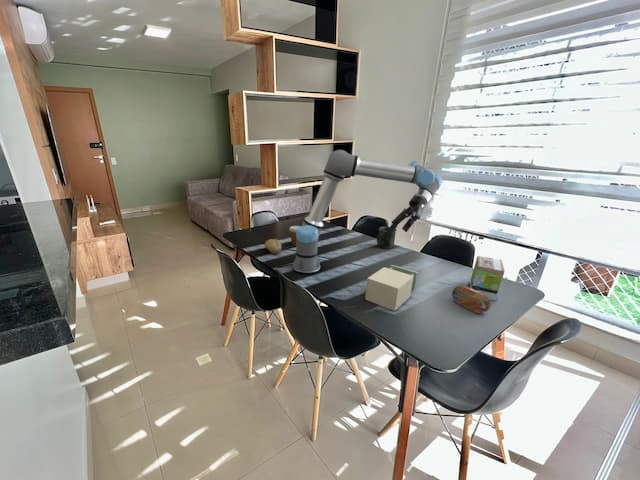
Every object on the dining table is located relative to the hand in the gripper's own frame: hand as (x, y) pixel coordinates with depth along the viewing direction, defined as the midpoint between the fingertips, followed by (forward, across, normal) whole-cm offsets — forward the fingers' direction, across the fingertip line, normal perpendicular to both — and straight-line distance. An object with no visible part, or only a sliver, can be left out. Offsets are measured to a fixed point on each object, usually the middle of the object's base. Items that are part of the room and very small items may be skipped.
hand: (395, 232), depth 142 cm
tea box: (-1, -12, -46) cm, 48 cm away
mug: (-11, +47, -19) cm, 51 cm away
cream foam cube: (+31, -8, -12) cm, 34 cm away
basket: (+22, -4, -16) cm, 28 cm away
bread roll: (+39, +57, +35) cm, 77 cm away
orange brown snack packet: (+14, -22, -37) cm, 45 cm away
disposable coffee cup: (+23, +65, +26) cm, 74 cm away
